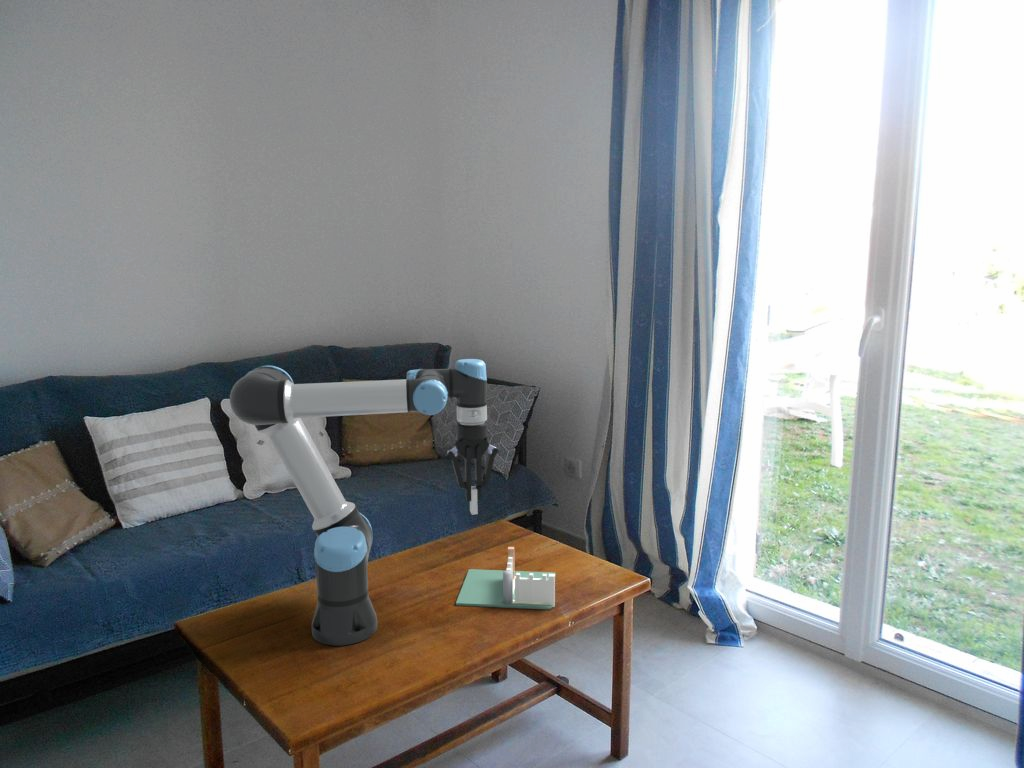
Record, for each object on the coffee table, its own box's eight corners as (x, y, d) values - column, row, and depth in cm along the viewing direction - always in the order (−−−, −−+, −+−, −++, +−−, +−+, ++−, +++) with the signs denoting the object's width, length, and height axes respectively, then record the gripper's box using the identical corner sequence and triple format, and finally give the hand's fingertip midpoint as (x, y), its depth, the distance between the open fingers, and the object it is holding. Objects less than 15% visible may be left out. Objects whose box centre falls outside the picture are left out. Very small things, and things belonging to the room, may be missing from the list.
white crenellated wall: (508, 576, 202) (508, 546, 200) (514, 576, 202) (514, 546, 200) (505, 596, 190) (505, 565, 189) (511, 596, 190) (511, 565, 189)
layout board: (455, 605, 188) (455, 602, 188) (469, 571, 208) (469, 568, 207) (551, 609, 185) (551, 606, 185) (555, 574, 205) (555, 572, 205)
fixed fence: (502, 605, 188) (502, 574, 186) (503, 601, 190) (503, 569, 188) (554, 608, 186) (554, 576, 185) (554, 603, 188) (554, 572, 187)
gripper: (448, 427, 180) (450, 520, 184) (501, 423, 183) (502, 515, 187) (443, 420, 187) (445, 509, 191) (494, 416, 190) (495, 505, 194)
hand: (473, 512), depth 189 cm, fingers closed
